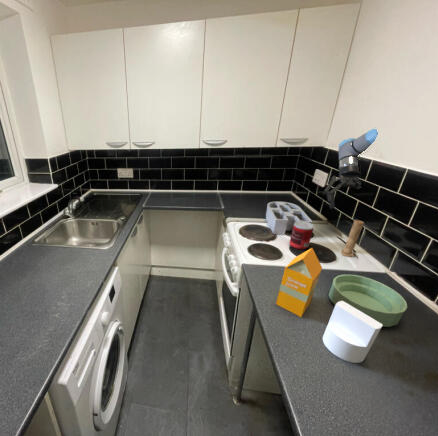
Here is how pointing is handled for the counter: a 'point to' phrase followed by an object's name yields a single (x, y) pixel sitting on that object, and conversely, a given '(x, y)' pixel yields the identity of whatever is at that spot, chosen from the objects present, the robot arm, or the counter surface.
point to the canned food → (301, 235)
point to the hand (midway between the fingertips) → (350, 209)
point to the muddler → (352, 238)
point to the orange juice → (299, 282)
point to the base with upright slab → (350, 333)
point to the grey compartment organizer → (284, 216)
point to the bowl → (369, 298)
